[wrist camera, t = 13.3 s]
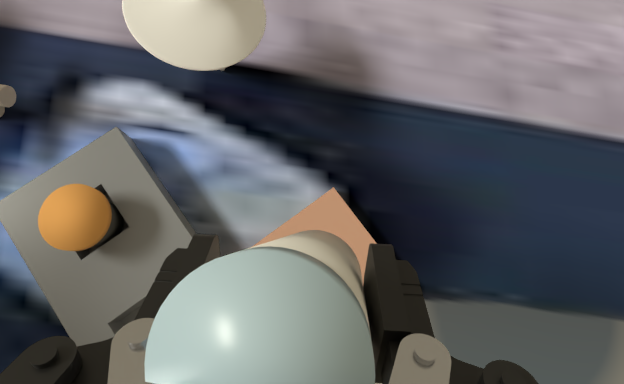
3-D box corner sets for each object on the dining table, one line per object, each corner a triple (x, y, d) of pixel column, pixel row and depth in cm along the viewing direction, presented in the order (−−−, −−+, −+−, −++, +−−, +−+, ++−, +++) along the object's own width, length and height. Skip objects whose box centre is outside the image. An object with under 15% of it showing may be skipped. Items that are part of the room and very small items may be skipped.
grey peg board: (145, 422, 33) (129, 437, 30) (16, 211, 36) (-9, 206, 33) (263, 331, 34) (260, 337, 32) (130, 138, 38) (116, 126, 35)
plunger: (89, 265, 34) (59, 264, 30) (59, 217, 35) (25, 209, 30) (141, 229, 35) (119, 223, 30) (111, 183, 35) (85, 170, 31)
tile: (308, 365, 34) (308, 368, 33) (235, 260, 36) (233, 260, 34) (406, 286, 36) (410, 287, 34) (332, 190, 37) (333, 187, 36)
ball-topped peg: (295, 342, 20) (210, 533, 8) (250, 258, 20) (107, 319, 8) (379, 297, 20) (420, 424, 8) (331, 212, 20) (301, 208, 8)
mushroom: (255, 9, 41) (236, -98, 29) (287, 101, 39) (280, 27, 27) (156, 36, 40) (96, -63, 28) (184, 132, 38) (131, 69, 26)
